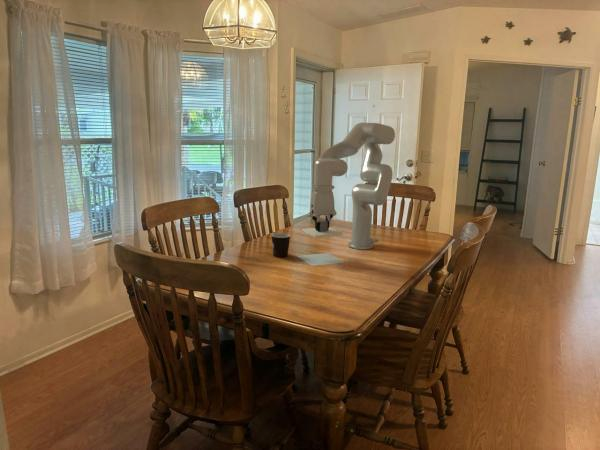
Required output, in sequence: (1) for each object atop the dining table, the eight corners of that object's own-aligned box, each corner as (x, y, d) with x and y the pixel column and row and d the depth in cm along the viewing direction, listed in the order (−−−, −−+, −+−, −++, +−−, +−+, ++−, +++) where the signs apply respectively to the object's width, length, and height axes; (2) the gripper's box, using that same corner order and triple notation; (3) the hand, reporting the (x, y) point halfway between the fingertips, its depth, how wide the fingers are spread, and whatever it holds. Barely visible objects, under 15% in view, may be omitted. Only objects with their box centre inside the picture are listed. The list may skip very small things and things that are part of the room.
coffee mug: (287, 260, 198) (288, 238, 196) (268, 258, 200) (269, 236, 198) (293, 253, 209) (293, 232, 207) (275, 251, 211) (275, 231, 209)
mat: (327, 253, 210) (328, 252, 210) (344, 263, 195) (344, 262, 195) (296, 256, 203) (296, 255, 203) (311, 267, 189) (311, 265, 189)
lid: (328, 228, 205) (328, 216, 204) (341, 235, 194) (342, 222, 193) (302, 230, 200) (302, 219, 199) (314, 237, 189) (315, 225, 187)
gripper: (335, 186, 199) (334, 226, 203) (302, 188, 193) (301, 229, 197) (344, 189, 192) (342, 230, 197) (309, 191, 186) (308, 233, 190)
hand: (322, 229), depth 197 cm, fingers closed on lid, 3 cm apart
